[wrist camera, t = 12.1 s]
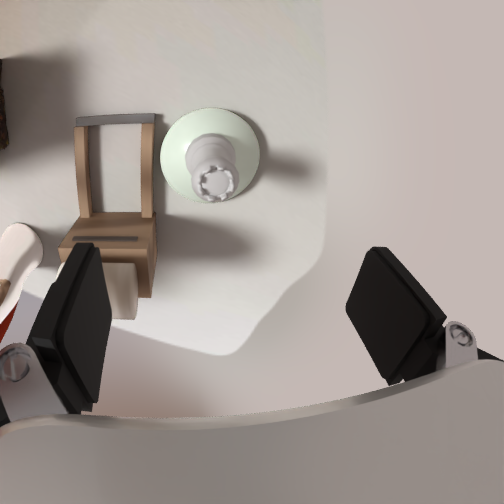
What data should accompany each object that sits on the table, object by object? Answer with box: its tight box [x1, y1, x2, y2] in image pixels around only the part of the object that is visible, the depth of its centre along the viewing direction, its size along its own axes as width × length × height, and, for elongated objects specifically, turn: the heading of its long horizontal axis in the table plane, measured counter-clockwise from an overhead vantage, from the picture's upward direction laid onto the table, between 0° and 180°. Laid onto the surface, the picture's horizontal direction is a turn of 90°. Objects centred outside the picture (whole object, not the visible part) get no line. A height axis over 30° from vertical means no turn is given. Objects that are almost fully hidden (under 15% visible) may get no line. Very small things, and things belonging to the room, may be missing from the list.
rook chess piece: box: [185, 133, 239, 203], centre depth 22 cm, size 4×4×8 cm
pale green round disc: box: [160, 108, 260, 203], centre depth 26 cm, size 9×9×1 cm
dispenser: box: [56, 114, 157, 320], centre depth 21 cm, size 15×8×11 cm, turn 173°
